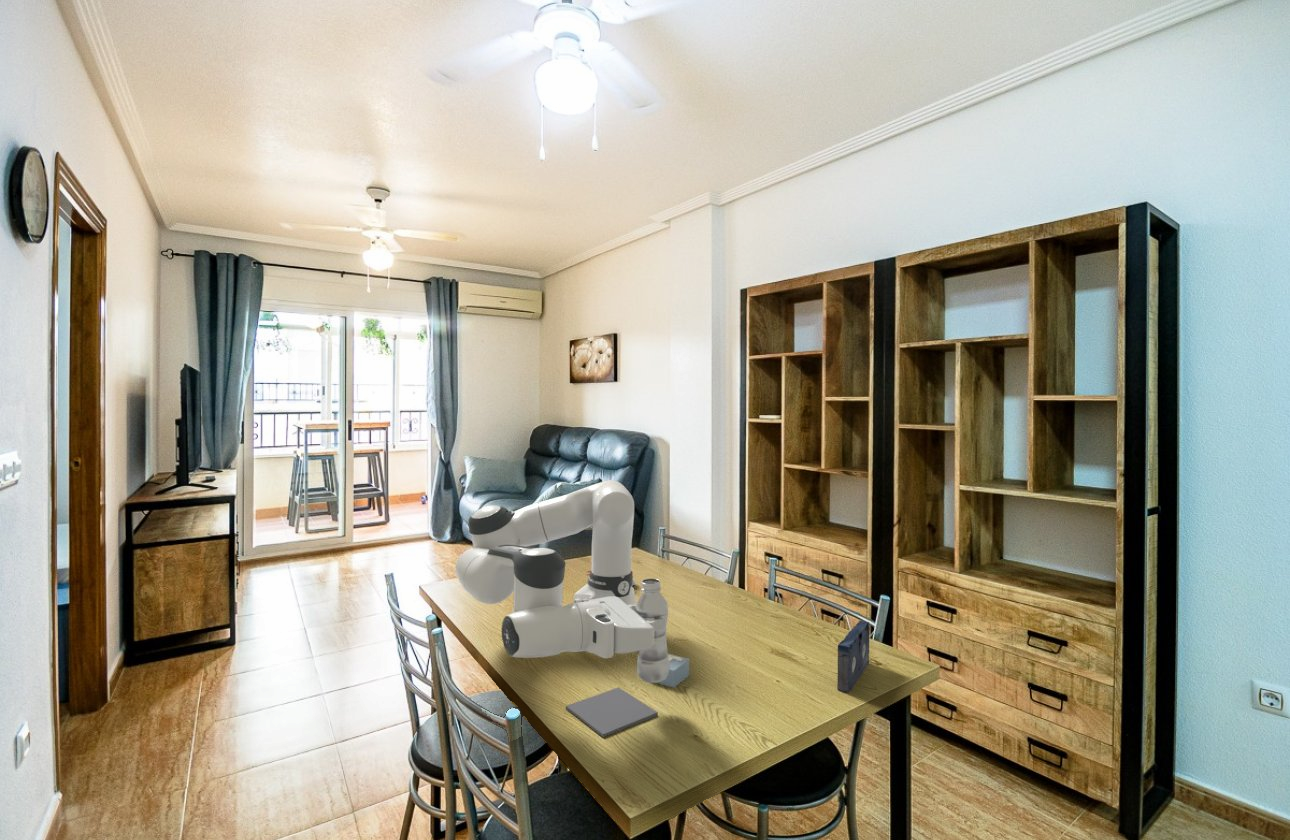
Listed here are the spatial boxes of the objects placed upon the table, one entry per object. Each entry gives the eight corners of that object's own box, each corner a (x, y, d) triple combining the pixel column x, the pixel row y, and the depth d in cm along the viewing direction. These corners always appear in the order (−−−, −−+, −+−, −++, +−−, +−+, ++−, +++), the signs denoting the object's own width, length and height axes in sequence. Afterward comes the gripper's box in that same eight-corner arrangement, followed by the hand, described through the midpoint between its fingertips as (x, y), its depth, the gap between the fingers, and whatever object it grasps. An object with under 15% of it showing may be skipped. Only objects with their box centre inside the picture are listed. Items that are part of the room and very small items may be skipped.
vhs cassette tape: (858, 660, 144) (859, 619, 144) (871, 664, 142) (872, 622, 142) (834, 690, 129) (835, 644, 129) (848, 694, 127) (849, 647, 127)
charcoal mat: (565, 708, 119) (565, 705, 119) (618, 690, 128) (618, 687, 128) (602, 737, 109) (602, 734, 109) (657, 715, 117) (657, 712, 117)
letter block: (646, 680, 133) (646, 661, 133) (662, 669, 139) (662, 650, 138) (673, 688, 129) (674, 669, 129) (689, 676, 135) (689, 657, 135)
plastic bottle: (635, 672, 123) (632, 577, 122) (668, 670, 124) (665, 575, 123) (638, 688, 117) (635, 587, 116) (673, 685, 117) (669, 585, 116)
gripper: (574, 622, 124) (635, 614, 129) (608, 662, 105) (678, 651, 111) (574, 592, 124) (636, 585, 129) (609, 627, 105) (679, 617, 111)
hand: (656, 616), depth 120 cm, fingers closed on plastic bottle, 6 cm apart
